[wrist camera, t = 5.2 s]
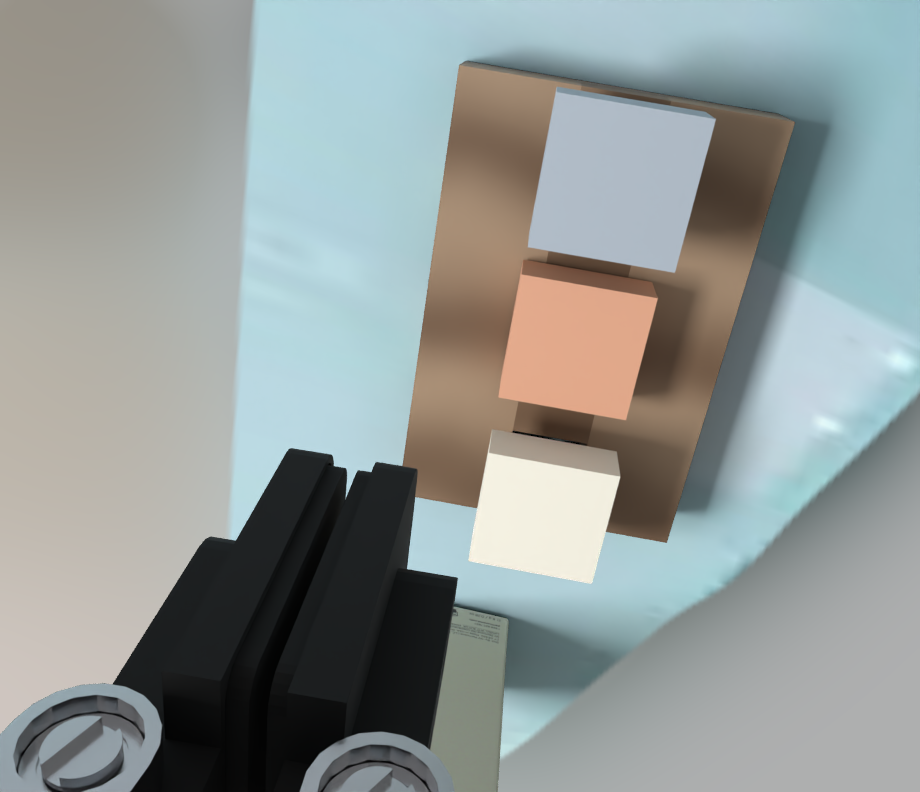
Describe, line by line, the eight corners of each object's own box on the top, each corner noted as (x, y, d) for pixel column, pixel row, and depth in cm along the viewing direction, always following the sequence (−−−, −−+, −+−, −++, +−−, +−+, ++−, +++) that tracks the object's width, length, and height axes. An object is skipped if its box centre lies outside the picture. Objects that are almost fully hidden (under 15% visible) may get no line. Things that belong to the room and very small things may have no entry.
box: (427, 596, 44) (382, 812, 32) (512, 616, 44) (497, 839, 32) (408, 674, 46) (359, 903, 34) (489, 693, 46) (468, 928, 34)
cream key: (495, 402, 36) (488, 452, 32) (612, 423, 36) (620, 476, 32) (477, 501, 39) (468, 561, 35) (587, 522, 38) (591, 583, 34)
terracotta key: (525, 243, 35) (521, 274, 31) (645, 264, 35) (657, 298, 31) (504, 354, 37) (498, 397, 33) (617, 374, 37) (625, 420, 33)
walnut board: (465, 60, 33) (459, 64, 31) (778, 113, 33) (795, 121, 30) (407, 466, 40) (398, 493, 38) (660, 512, 40) (666, 542, 38)
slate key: (556, 80, 31) (557, 92, 27) (694, 103, 31) (716, 119, 27) (530, 217, 33) (527, 247, 29) (659, 239, 33) (674, 272, 29)
